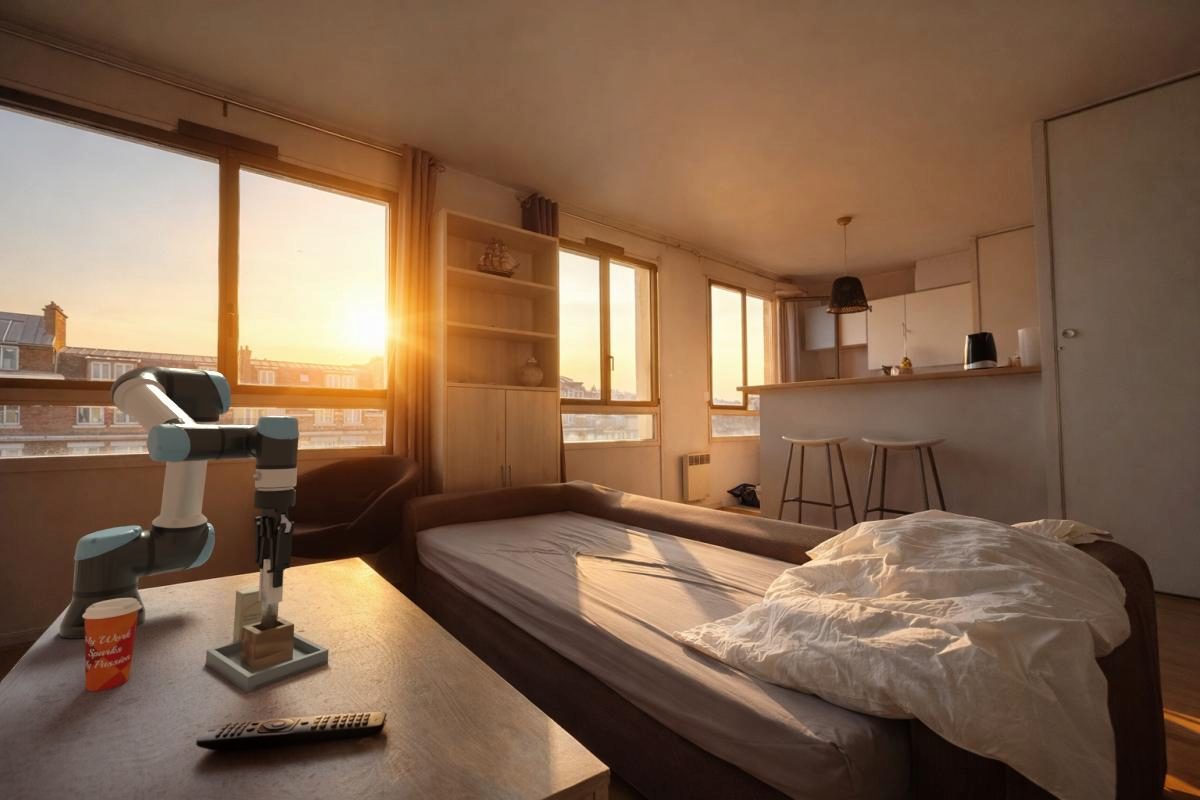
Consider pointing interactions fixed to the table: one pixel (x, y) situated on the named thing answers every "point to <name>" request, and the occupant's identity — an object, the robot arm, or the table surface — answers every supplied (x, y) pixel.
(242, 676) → the tray
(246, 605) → the skincare box
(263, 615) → the pin
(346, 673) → the table surface
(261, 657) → the bored block
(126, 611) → the coffee cup
